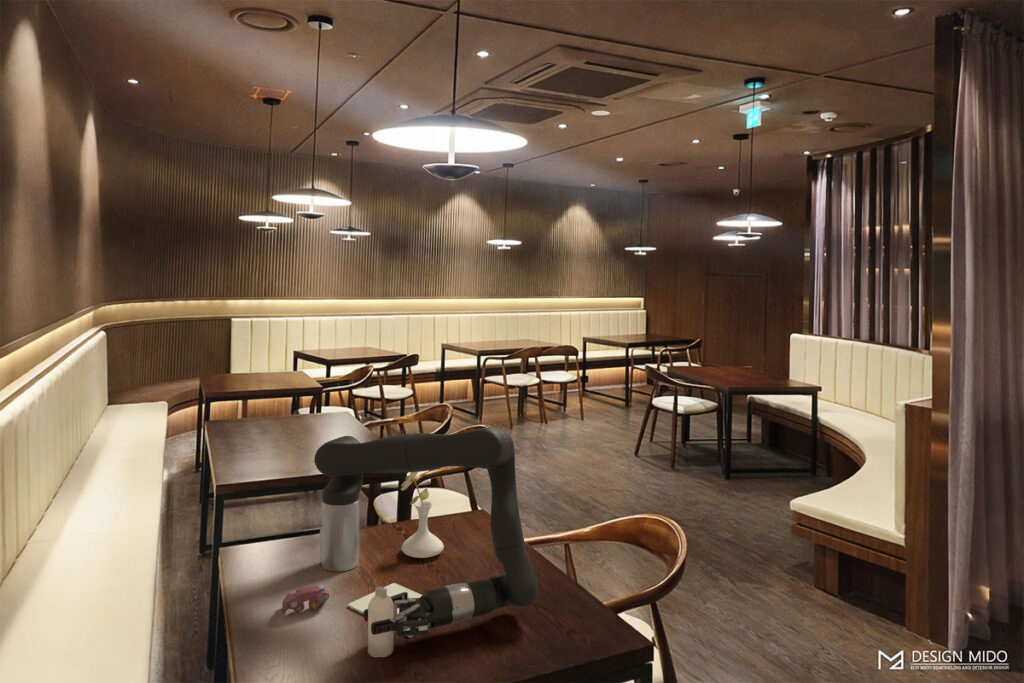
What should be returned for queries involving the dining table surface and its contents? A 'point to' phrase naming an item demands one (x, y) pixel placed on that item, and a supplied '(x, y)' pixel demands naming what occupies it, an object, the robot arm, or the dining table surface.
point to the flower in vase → (421, 527)
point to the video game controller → (305, 598)
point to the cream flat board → (391, 591)
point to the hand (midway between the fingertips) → (368, 622)
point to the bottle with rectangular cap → (379, 611)
